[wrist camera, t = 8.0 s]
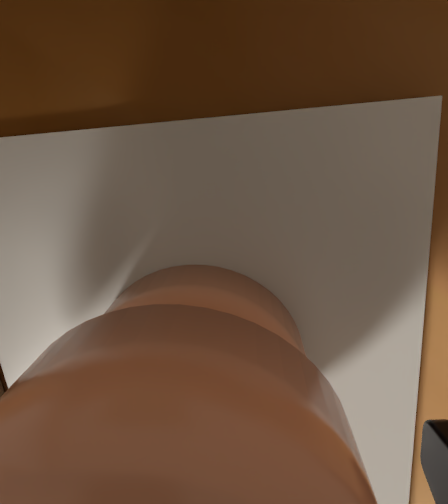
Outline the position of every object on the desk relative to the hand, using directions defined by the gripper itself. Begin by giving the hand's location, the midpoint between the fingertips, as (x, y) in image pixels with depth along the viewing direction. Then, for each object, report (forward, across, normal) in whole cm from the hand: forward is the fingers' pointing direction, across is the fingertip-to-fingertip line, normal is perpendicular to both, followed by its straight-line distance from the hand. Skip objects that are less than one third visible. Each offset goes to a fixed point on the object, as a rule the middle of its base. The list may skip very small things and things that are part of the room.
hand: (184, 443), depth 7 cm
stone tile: (+3, 0, 0) cm, 3 cm away
